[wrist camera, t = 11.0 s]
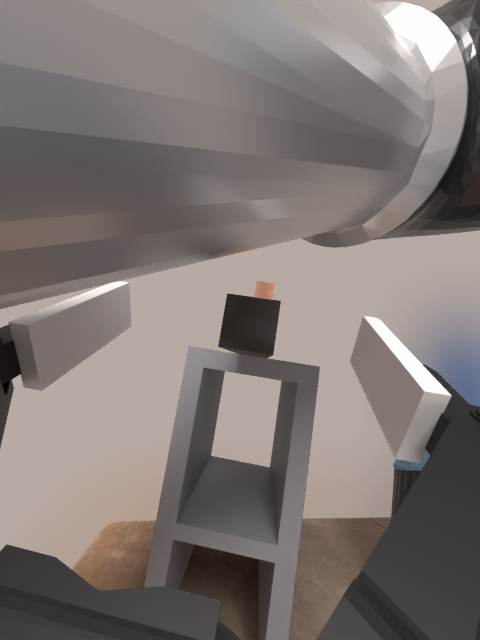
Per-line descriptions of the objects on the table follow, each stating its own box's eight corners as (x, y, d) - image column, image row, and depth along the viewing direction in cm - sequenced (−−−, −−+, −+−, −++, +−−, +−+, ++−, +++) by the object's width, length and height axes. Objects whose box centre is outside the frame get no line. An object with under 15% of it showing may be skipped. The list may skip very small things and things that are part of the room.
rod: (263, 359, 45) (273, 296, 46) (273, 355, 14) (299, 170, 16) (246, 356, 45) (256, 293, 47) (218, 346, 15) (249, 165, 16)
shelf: (271, 555, 42) (295, 363, 46) (280, 710, 23) (320, 364, 28) (185, 535, 44) (216, 350, 48) (128, 667, 25) (188, 344, 29)
